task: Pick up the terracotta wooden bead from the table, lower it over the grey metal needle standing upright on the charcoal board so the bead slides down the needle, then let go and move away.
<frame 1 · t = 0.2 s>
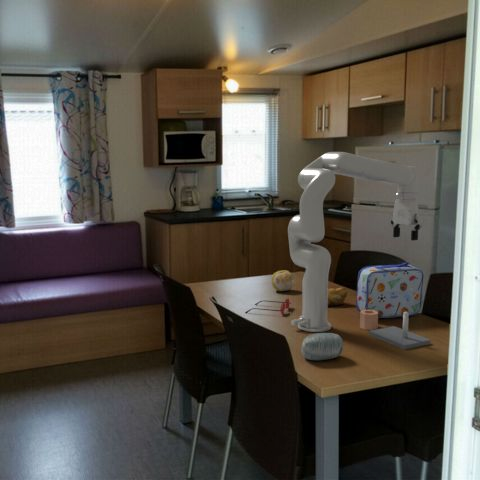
hand: (405, 238, 234), 31 cm above the table, fingers open, 9 cm apart
spool: (322, 359, 186), on the table
needle stand: (398, 339, 204), on the table
glasses: (268, 311, 243), on the table
bead: (368, 327, 218), on the table
bread roll: (330, 304, 252), on the table
fruit: (282, 291, 275), on the table
lunch box: (389, 316, 234), on the table
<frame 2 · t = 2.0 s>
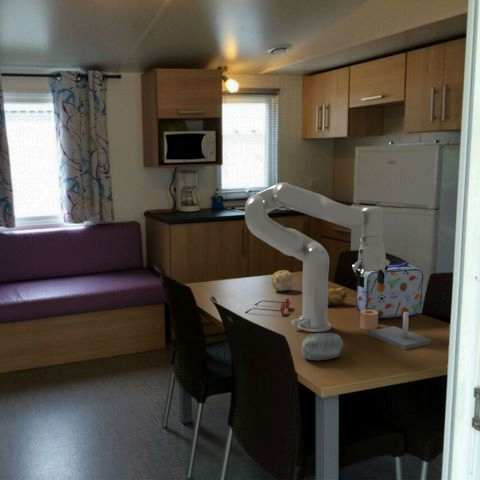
hand: (370, 284, 216), 17 cm above the table, fingers open, 9 cm apart
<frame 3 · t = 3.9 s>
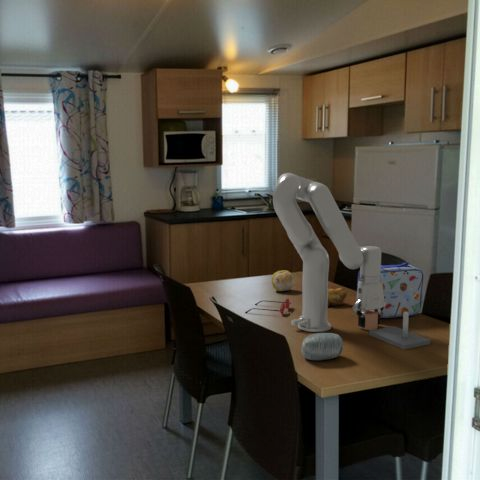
hand: (368, 324, 218), 1 cm above the table, fingers closed on bead, 6 cm apart
bead: (368, 327, 218), on the table, touching gripper
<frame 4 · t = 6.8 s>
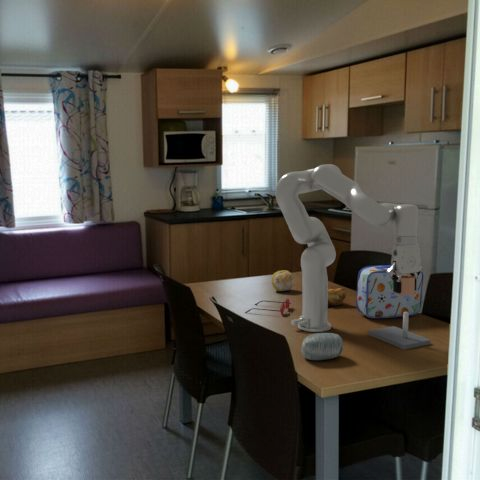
hand: (404, 290, 200), 18 cm above the table, fingers closed on bead, 6 cm apart
bead: (404, 293, 200), point 17 cm above the table, touching gripper
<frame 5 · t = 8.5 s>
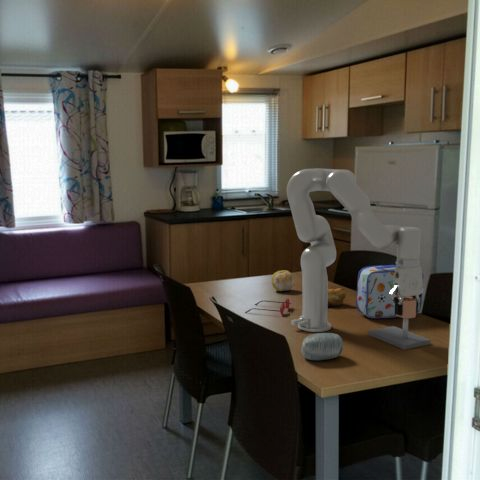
hand: (406, 312, 200), 11 cm above the table, fingers closed on bead, 6 cm apart
bead: (406, 315, 200), point 10 cm above the table, touching gripper
when the fingers open (7 cm above the table, at t = 9.8 s): bead drops 4 cm, resting on needle stand.
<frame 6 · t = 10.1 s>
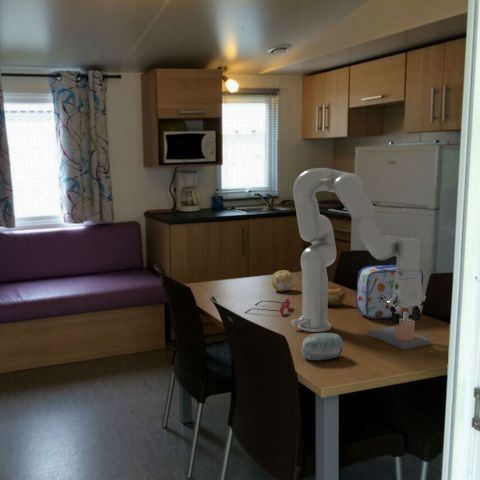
hand: (405, 321, 201), 7 cm above the table, fingers open, 9 cm apart
bead: (404, 337, 201), point 1 cm above the table, touching needle stand
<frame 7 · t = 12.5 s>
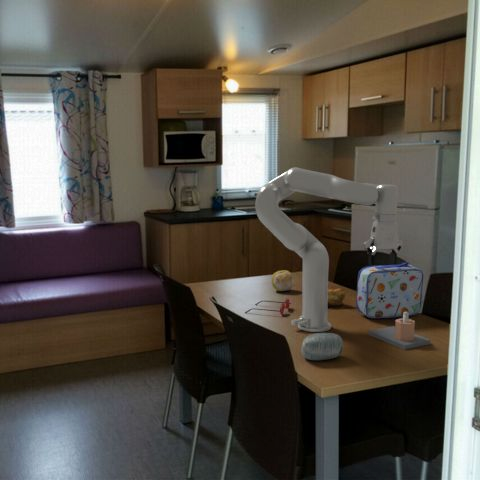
hand: (382, 264, 212), 25 cm above the table, fingers open, 9 cm apart
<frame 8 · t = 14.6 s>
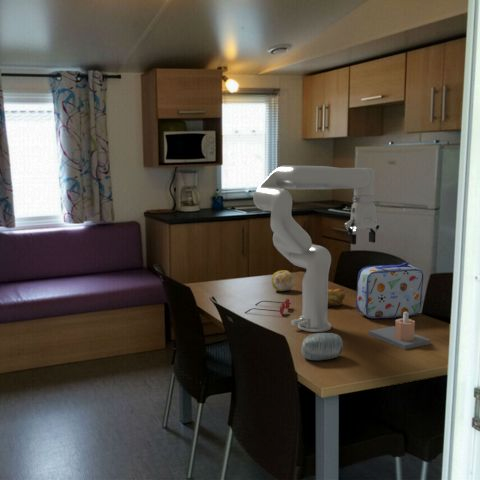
hand: (362, 243, 227), 30 cm above the table, fingers open, 9 cm apart
at the end: bead 0.2 cm from the target spot on the needle stand, point 1.5 cm above the needle stand's base; the gripper is holding nothing; bead tilted 0° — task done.
